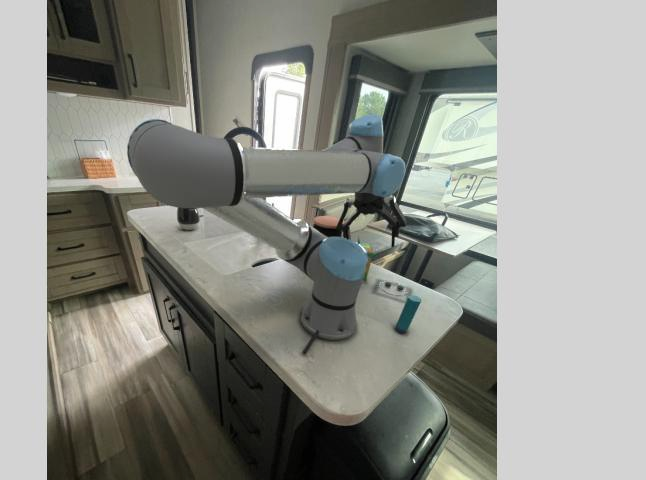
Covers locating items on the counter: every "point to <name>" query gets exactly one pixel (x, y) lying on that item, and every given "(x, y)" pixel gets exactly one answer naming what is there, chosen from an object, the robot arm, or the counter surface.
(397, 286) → the eye dot
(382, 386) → the counter surface
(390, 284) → the eye dot
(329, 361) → the counter surface
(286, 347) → the counter surface
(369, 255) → the chalk box
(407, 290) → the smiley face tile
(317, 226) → the coffee jar
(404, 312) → the dot marker
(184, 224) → the pump dispenser
